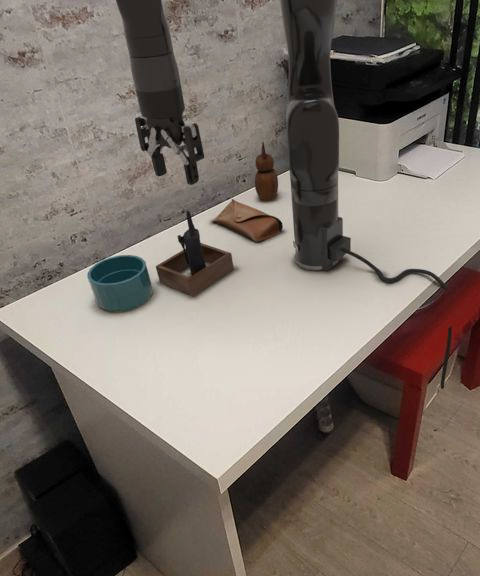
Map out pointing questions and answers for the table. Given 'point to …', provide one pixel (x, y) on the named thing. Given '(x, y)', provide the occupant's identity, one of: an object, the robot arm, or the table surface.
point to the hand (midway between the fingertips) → (177, 179)
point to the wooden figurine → (265, 176)
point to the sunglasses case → (249, 221)
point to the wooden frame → (200, 280)
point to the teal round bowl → (120, 283)
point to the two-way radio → (192, 247)
